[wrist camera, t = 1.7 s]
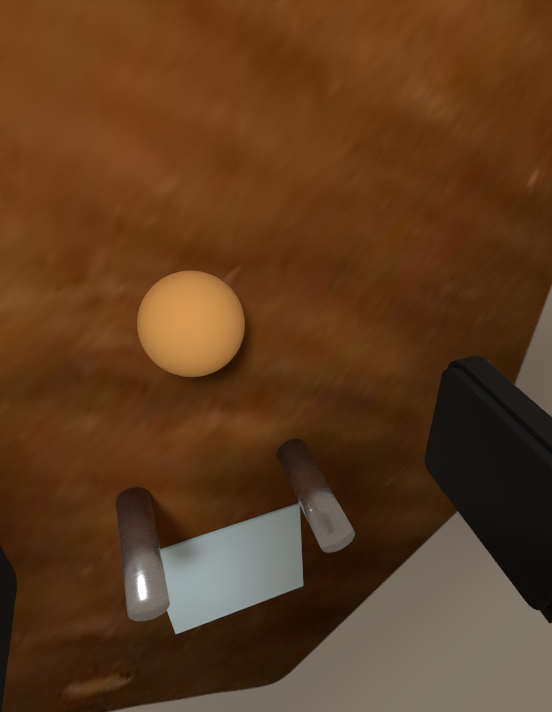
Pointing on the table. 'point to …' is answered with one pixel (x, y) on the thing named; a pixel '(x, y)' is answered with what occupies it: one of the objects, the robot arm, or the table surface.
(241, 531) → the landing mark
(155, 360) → the ball
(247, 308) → the table surface
